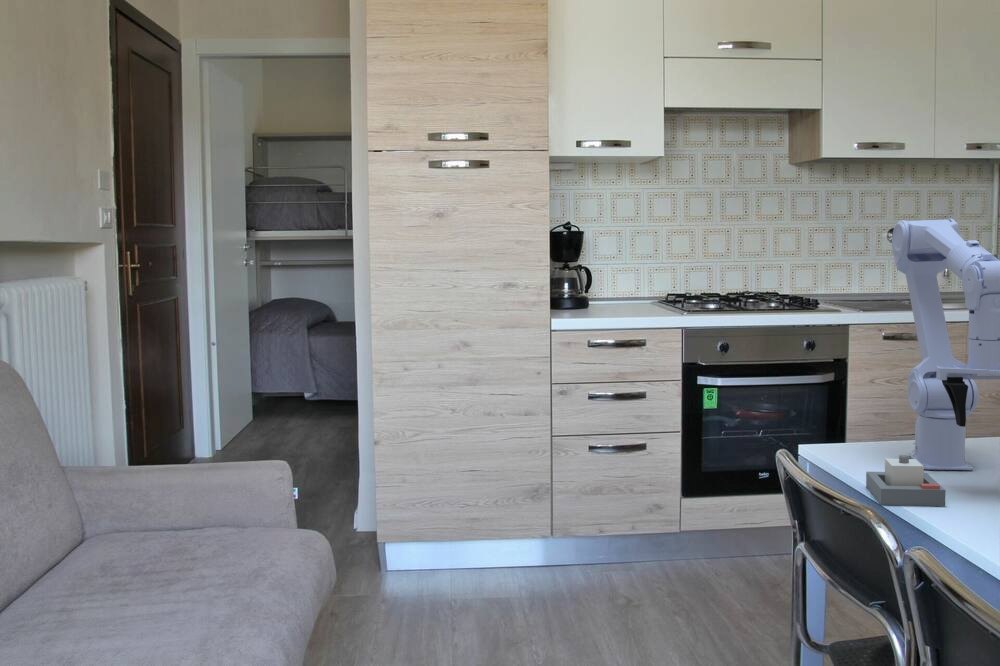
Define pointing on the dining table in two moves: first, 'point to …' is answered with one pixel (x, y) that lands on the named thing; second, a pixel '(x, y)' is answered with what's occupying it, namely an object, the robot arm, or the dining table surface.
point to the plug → (903, 472)
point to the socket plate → (905, 491)
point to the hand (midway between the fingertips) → (987, 425)
